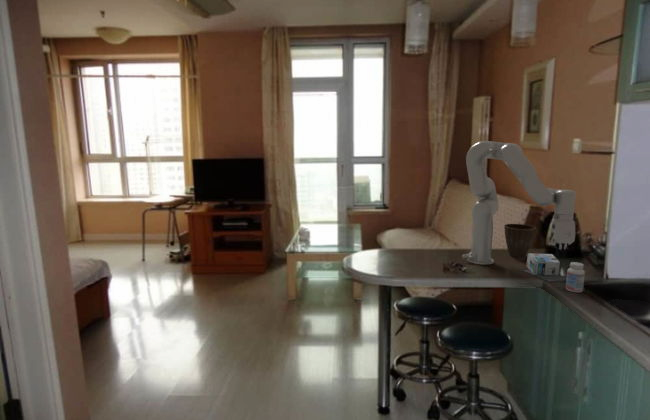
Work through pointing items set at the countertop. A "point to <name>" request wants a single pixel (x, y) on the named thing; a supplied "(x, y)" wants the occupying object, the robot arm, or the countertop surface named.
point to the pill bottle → (575, 277)
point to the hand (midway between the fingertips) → (559, 257)
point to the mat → (548, 277)
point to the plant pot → (518, 239)
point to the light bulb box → (543, 264)
